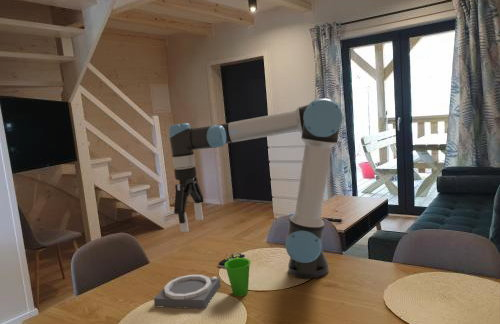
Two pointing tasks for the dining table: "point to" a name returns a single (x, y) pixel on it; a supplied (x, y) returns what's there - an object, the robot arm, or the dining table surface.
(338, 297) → the dining table surface
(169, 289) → the square coaster tray
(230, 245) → the dining table surface
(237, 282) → the cup
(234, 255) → the remote control
